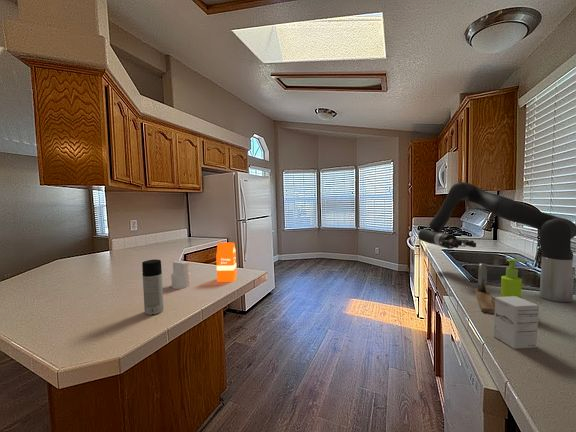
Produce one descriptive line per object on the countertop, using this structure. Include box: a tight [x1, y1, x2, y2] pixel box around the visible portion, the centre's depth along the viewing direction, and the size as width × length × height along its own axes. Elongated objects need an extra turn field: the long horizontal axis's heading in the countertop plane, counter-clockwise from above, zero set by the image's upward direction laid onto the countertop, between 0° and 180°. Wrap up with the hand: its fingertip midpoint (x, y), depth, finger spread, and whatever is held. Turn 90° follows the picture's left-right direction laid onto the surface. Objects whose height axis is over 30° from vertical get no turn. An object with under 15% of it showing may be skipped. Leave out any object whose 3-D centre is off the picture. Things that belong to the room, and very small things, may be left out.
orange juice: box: [215, 242, 238, 283], centre depth 147 cm, size 8×9×20 cm
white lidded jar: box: [170, 260, 192, 290], centre depth 138 cm, size 9×9×12 cm
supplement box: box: [493, 296, 540, 350], centre depth 82 cm, size 7×7×13 cm
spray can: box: [141, 259, 164, 316], centre depth 107 cm, size 7×7×20 cm
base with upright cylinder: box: [473, 262, 495, 315], centre depth 110 cm, size 15×25×14 cm, turn 152°
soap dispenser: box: [500, 258, 527, 299], centre depth 102 cm, size 6×7×20 cm
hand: (466, 245), depth 130 cm, fingers open, 8 cm apart
